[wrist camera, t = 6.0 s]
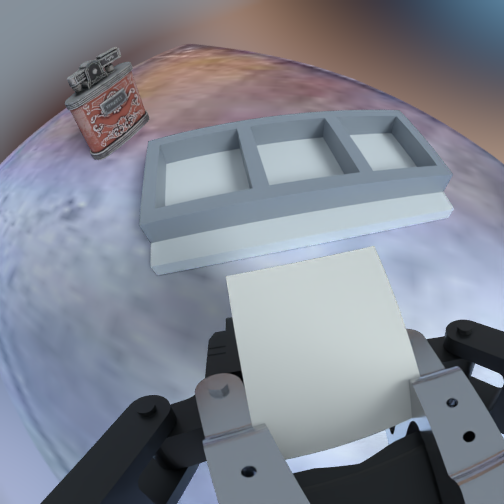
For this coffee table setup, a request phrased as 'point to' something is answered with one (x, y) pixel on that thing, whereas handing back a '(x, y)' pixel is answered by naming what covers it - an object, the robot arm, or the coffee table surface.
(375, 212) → the rack
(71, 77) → the lighter
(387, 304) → the clay bar
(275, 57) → the coffee table surface
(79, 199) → the coffee table surface
